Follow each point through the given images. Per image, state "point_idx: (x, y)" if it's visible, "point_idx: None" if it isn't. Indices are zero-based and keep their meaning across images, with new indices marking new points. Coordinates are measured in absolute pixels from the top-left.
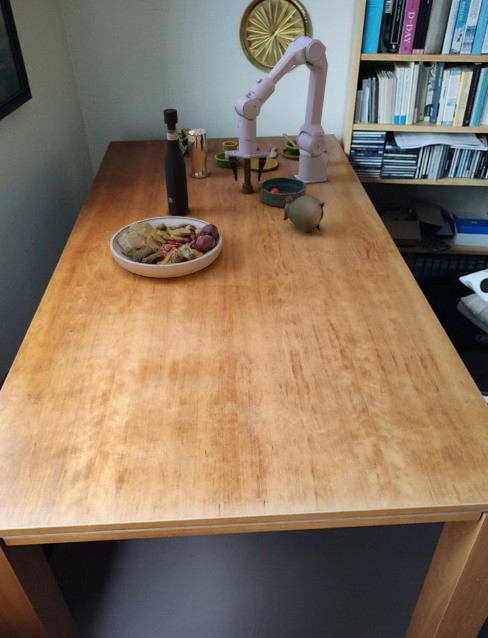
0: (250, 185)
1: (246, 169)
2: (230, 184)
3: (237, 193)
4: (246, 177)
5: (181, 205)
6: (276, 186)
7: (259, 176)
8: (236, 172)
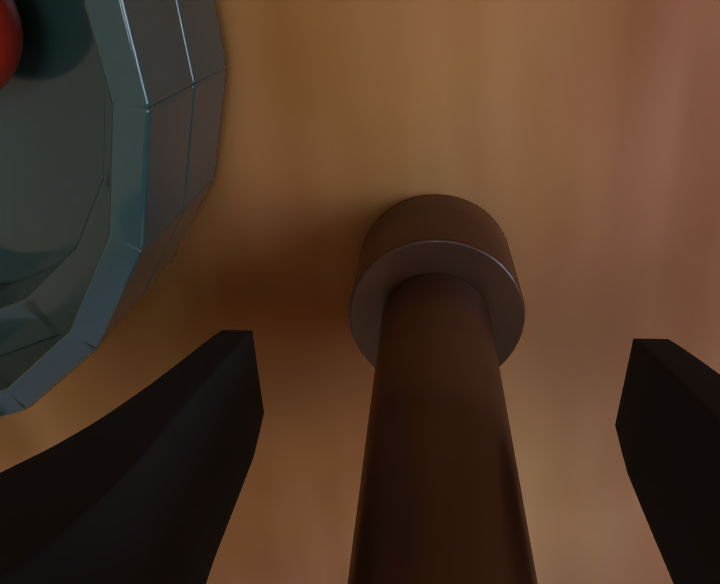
0: (383, 275)
1: (466, 473)
2: None
3: (584, 206)
4: (457, 349)
5: None
6: (6, 299)
7: (188, 368)
8: (705, 455)
